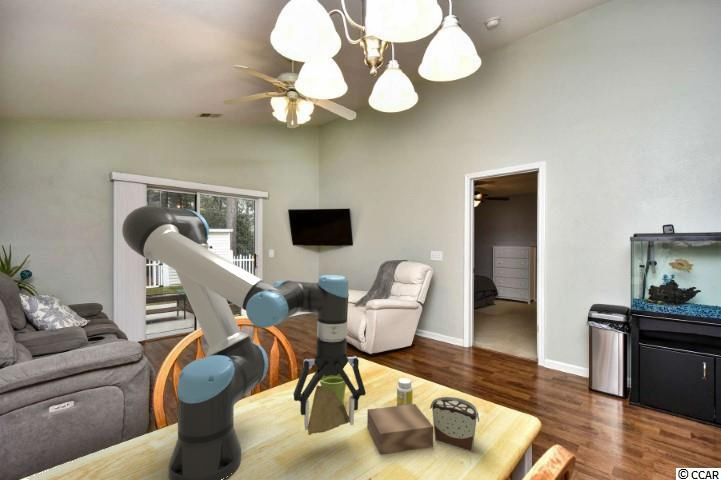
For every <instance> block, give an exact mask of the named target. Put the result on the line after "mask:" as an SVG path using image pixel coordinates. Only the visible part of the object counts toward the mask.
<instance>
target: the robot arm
mask: <svg viewBox="0 0 721 480" xmlns="http://www.w3.org/2000/svg"><path fill="white" fill-rule="evenodd" d="M121 233H122V237H123V239H124V241H125V243H126V244H127V245H128V247H129V248H130V249H131V250H133V251H134V252H135V253H136V254H138V255H140V256H141V257H143V258H144V259H147V260H149V261H152V262H157V261H158V262H161V263H163V264H164V265H166V266H168V267H170V268H172V269H173V270H174V271H175V272H176V274H177V277H178V280H179V281H180V285H181V286H182V288H183V291H184V293H185V295H186V298H187V300H188V302H189V304H190V306H191V309H192V311H193V313H194V315H195V318H196V320H197V322H198V325H199V327H200V329H201V332H202V334H203V336H204V338H205V341H206V343H207V346H208V350H207V353H206V356H204V357H201V358H197V359H195V360H193V361H191V362H189V363H188V364H186V365H185V366H184V367H183V368H182V369H181V371H180V373H179V374H178V379H177V381H178V382H177V387H176V396H177V439H176V442H175V446H174V449H173V452H172V455H171V458H170V461H169V465H168V479H169V478H170V480H221V479H223V478H226V477H227V476H229V475H230V474H231V473H233V472H234V471H235V470H236V469H237V470H238V469H239V467H240V465H241V463H242V447H241V443H240V441H239V438H238V435H237V432H236V430H235V426H234V421H235V420H234V418H235V417H234V416H235V415H234V410H235V409H234V408H235V407H234V406H235V404H237V403H238V402H239V401H241V400H242V398H245V396H246V395H248V394H249V393H250V392H251V391H252V390H254V389H256V388H257V387H258V386H259V384H260V383H261V382H262V380H264V378H265V376H266V375H267V372H268V368H269V358H268V355H267V352H266V351H265V349H264V348H263V347H262V345H260V344H257V343H256V342H253V341H252V339H251V337H250V335H249V334H247V333H245V332H242V331H241V329H240V327H239V325H238V324H239V323H238V322H237V321H236V318H235V315H234V313H233V311H232V308H231V306H230V305H229V303H228V302H230V303H232V304H234V305H235V306H237V307H238V308H241V309H242V310H243V311H245V314H246V317H247V318H248V320H249V321H250V323H251V324H252V325H254V326H255V327H257V328H261V329H268V328H271V327H273V326H276V325H279V324H281V323H283V321H284V320H285V319H287V318H289V317H291V316H293V315H296V314H297V313H298V312H299V313H300V312H301V313H312V314H313V313H314V314H315V313H316V314H317V321H316V322H317V326H316V328H317V329H316V336H317V337H318V338H316V354H315V357H314V358H311V359H310V358H309V359H308V358H307V357H305V358H303V360H302V369H301V372H300V375H299V378H298V381H297V383H296V386H295V389H294V392H293V394H292V395H293V401H294V402H300V411H299V412H300V415H301V416H304V424H303V426H304V429H305V430H306V431H308V426H309V419H310V401H309V397H310V396H311V394H312V393H313V392H314V390H315V389H316V387H317V385H318V384H319V383H320V380H321V379H322V377H323V376H324V375H325V376H330V375H334V376H337V375H338V374H340V375H341V377H342V378H343V380H344V382H345V383H346V387H347V388H348V389H349V392H350V393H351V394H349V395H348V416H349V424H350V426H354V422H355V420H354V419H355V411H358V409H359V400H360V398H361V397H363V396H365V395H366V393H367V392H366V389H365V384H364V381H363V378H362V375H361V372H360V369H359V364H360V361H359V359H358V357H357V355H352V356H347V346H348V344H347V342H348V339H347V337H348V313H349V311H348V309H349V296H350V294H349V293H350V292H349V280H348V278H347V277H345V276H343V275H340V274H339V275H336V274H333V275H331V274H326V275H324V274H323V275H321V276H319V278H318V281H317V282H306V281H305V282H304V281H296V280H295V281H294V280H293V281H292V280H290V279H288V280H278V281H276V282H274V284H273V285H272V284H271V283H268V282H267V281H264V280H263V279H262V278H259V277H258V276H256V275H255V274H254V273H253V274H252V273H250V272H249V271H247V270H246V269H244V268H242V267H240V266H238V265H236V264H235V263H233V262H231V261H230V260H228V259H226V258H224V257H223V256H220V255H219V254H217V253H215V252H213V251H211V250H210V249H209V247H210V246H209V243H208V241H209V235H210V227H209V224H208V222H207V220H206V219H205V217H203V215H201V214H200V213H199V212H197V211H194V210H191V209H187V208H184V207H177V208H176V207H175V208H173V207H166V206H158V205H143V206H140V207H138V208H135V209H134V210H132V211H131V212H130V213H129V214H128V215H127V216H126V217H125V218H124V221H123V223H122V227H121ZM348 363H349V366H350V367H351V369H352V370H353V374H354V378H355V381H356V385H357V387H358V388H357V389H356V388H355V386H354V384H353V383H352V380H350V377H349V378H348V376H349V375H348V376H347V375H346V374H347V373H346V371H345V367H346V366H347V365H348ZM314 365H315V367H316V370H315V372H314V374H313V375H312V377H311V379H310V380H309V382H308V383H307V385H306V387H305V388H304V386H305V383H306V381H307V378H308V374H309V373H310V372H309V371H310V370H311V369H312V367H313V366H314ZM303 388H304V390H303ZM238 466H239V467H238ZM237 470H236V471H237ZM236 471H235V472H236ZM235 472H234V473H235ZM234 473H233V474H234ZM230 476H231V475H230ZM230 476H229V477H230ZM226 479H227V478H226Z"/></svg>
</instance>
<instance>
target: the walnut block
mask: <svg viewBox="0 0 721 480" xmlns="http://www.w3.org/2000/svg"><path fill="white" fill-rule="evenodd" d="M366 420H367V425H366V426H367V430H368V431H369V434H370V436H371V439H372V440H373V442H374V445H375V446H376V449H377V451H378V453H379V455H386V454H390V453H391V454H392V453H395V452H396V453H397V452H403V451H410V450H417V449H424V448H431V447H434V424H432V423H431V422H430V421H429V419H428V418H427V416H425V415H424V413H423V412H422V411H421V409H420V408H419V407H418V405H416V404H415V403H412V404H410V405H401V406H397V405H395V406H387V407H378V408H369V409H367V419H366Z"/></svg>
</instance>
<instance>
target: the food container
mask: <svg viewBox="0 0 721 480" xmlns="http://www.w3.org/2000/svg"><path fill="white" fill-rule="evenodd" d="M429 406H430V407H429V409H430V410H431V409H432V411H431V412H432V421H433V435H434V442H438V443H440V444H444V445H446V446H450V447H453V448H456V449H458V450H459V449H460V450H462V451H466V452H468V453H471V454H472V453H473V450H474V443H475V433H476V428H477V425H476V424H477V423H479V422H480V416H479V412H478V409H477V407H476V406H475V405H474V404H473V403H471V402H470V401H468V400H466V399H463V398H459V397H453V396H442V397H441V396H440V397H437V398H435V399H432V401H431V403H430V405H429Z"/></svg>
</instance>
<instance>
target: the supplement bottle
mask: <svg viewBox="0 0 721 480" xmlns="http://www.w3.org/2000/svg"><path fill="white" fill-rule="evenodd" d="M397 382H398V383H397V387H396V406H401V405H410V404H413V387H412V380H411V379H410V378H409V377H408V378H407V377H401V378H399V379H398V381H397Z"/></svg>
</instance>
